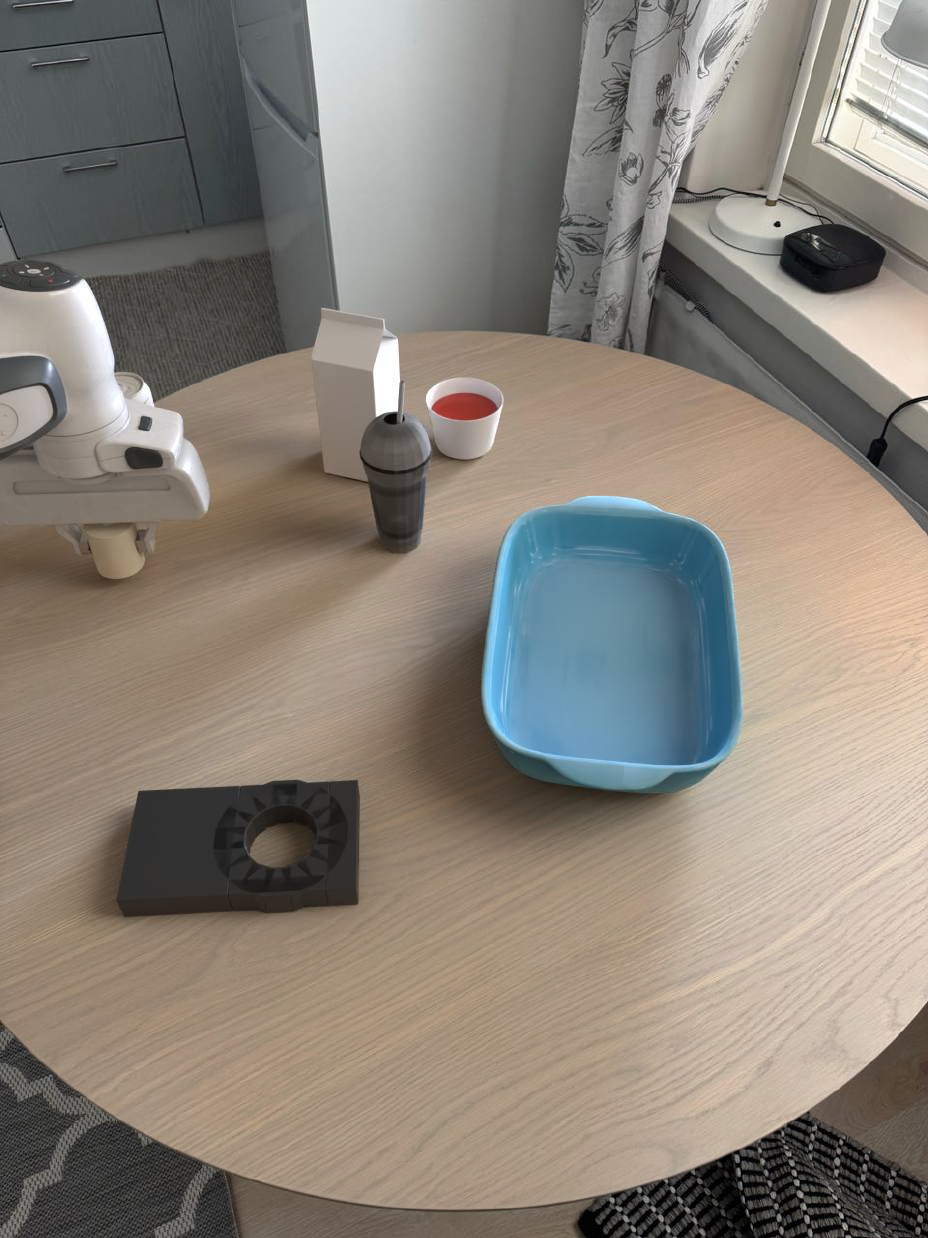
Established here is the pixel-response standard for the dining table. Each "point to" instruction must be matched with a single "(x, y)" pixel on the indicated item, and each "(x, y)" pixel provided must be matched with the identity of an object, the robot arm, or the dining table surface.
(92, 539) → the stopper
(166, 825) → the board
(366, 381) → the milk carton
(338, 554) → the dining table surface
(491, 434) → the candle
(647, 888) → the dining table surface
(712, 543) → the casserole dish
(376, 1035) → the dining table surface
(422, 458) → the beverage cup
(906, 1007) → the dining table surface
